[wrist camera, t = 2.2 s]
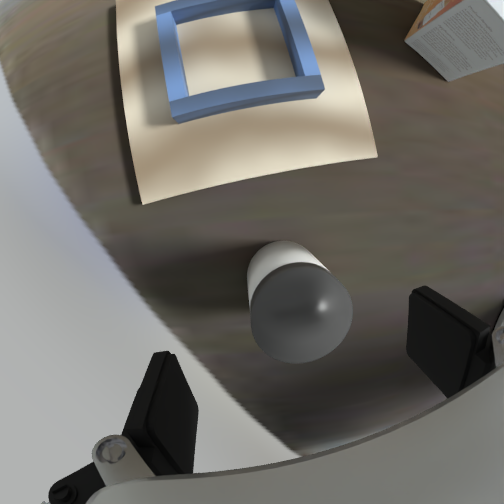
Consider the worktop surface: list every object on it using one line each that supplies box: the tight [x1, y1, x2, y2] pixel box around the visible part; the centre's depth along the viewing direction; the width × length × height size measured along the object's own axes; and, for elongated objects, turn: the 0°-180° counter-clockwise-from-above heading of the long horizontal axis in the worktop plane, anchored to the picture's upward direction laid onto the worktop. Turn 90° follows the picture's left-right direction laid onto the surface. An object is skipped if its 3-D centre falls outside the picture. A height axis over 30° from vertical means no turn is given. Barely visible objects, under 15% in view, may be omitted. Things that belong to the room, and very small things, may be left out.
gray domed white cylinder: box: [247, 240, 353, 363], centre depth 16 cm, size 5×5×7 cm
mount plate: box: [116, 0, 378, 205], centre depth 15 cm, size 18×16×3 cm
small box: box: [404, 0, 504, 82], centre depth 10 cm, size 8×6×10 cm
